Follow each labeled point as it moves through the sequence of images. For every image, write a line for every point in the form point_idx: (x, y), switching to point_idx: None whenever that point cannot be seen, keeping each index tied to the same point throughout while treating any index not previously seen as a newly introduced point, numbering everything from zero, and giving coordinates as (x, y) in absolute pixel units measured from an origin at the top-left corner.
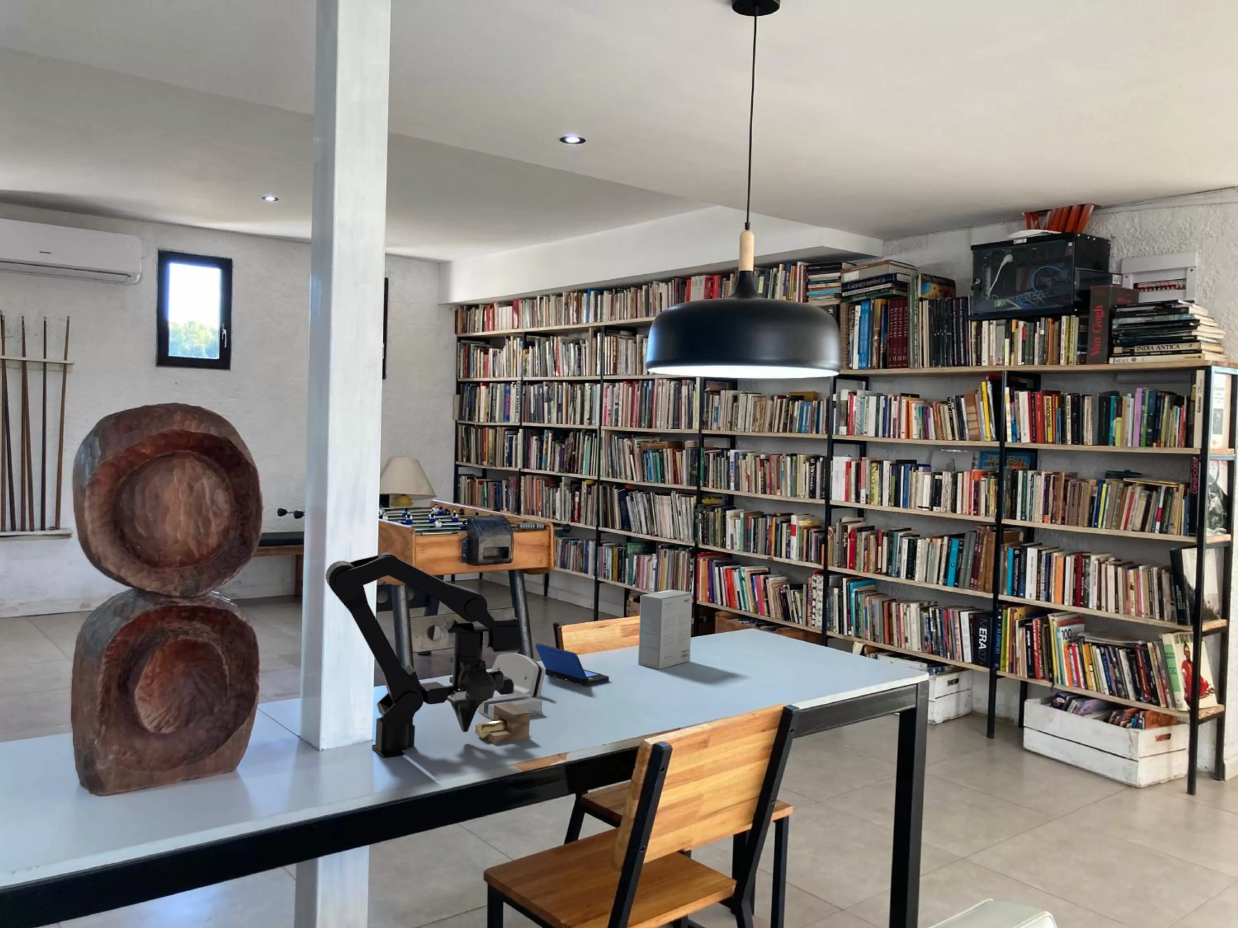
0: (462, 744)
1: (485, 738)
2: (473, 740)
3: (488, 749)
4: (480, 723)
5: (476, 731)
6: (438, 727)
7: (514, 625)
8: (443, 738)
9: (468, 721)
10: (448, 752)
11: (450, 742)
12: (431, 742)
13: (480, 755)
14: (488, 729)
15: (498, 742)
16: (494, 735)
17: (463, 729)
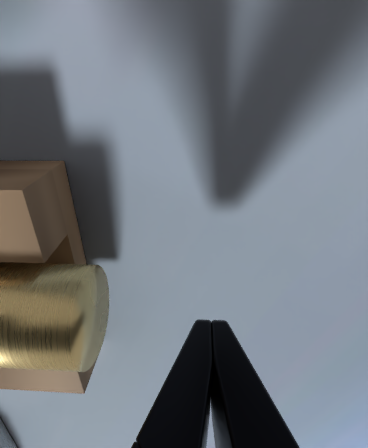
0: (212, 279)
1: None
2: (133, 301)
3: (107, 142)
4: (72, 364)
5: None
6: None
7: None
8: None
9: (202, 387)
10: (362, 205)
11: (250, 323)
12: (327, 354)
13: (212, 43)
14: (36, 292)
15: (14, 168)
16: (16, 201)
17: (235, 336)
